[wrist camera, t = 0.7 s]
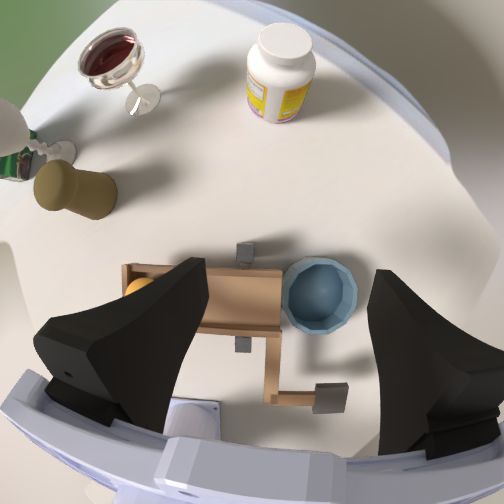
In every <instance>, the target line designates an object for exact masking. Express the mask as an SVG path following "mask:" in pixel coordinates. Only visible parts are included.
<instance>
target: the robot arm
mask: <svg viewBox="0 0 504 504" xmlns="http://www.w3.org/2000/svg"><path fill="white" fill-rule="evenodd" d="M208 300H209V289H208V282H207V274H206V266H205V258H194V257H191V258H189V259H187V260H185V261H184V262H182V263H181V264H179V265H177V266H176V267H174V268H173V269H171V270H170V271H168V272H167V273H165V274H163V275H162V276H160V277H159V278H157V279H155V280H154V281H152V282H150V283H149V284H147V285H145V286H143V287H142V288H140V289H138V290H136V291H134V292H132V293H130V294H128V295H126V296H124V297H122V298H119V299H117V300H115V301H112V302H109V303H107V304H104V305H101V306H99V307H96V308H92V309H89V310H86V311H82V312H78V313H74V314H69V315H63V316H58V317H51V318H50V319H49V320H48V321H47V322H46V323H45V325H44V326H43V327H42V328H41V329H40V330H39V331H38V332H37V334H36V335H35V336H34V338H33V342H34V347H35V349H36V352H37V353H38V355H39V357H40V358H41V360H42V361H43V363H44V364H45V366H46V367H47V369H48V370H49V371H50V373H51V374H52V376H53V378H52V380H51V381H50V382H49V381H48V380H47V379H46V378H44V377H43V376H41V375H39V374H37V373H36V372H34V371H32V370H30V369H27V370H26V371H25V373H24V374H23V375H22V376H21V378H20V379H19V381H18V382H17V383H16V385H15V386H14V388H13V389H12V390H11V392H10V393H9V395H8V396H7V398H6V399H5V400H4V402H3V403H2V405H1V406H0V412H1V413H2V414H3V415H4V416H5V417H6V418H7V419H8V420H9V421H10V422H11V423H12V424H13V425H14V426H15V427H16V428H18V429H19V430H20V431H21V432H22V433H23V434H24V435H25V436H26V437H28V438H29V439H30V440H31V441H32V442H33V443H35V444H36V445H38V446H39V447H40V448H42V449H43V450H45V451H46V452H48V453H49V454H51V455H52V456H54V457H55V458H57V459H58V460H60V461H61V462H63V463H64V464H66V465H68V466H69V467H71V468H72V469H74V470H76V471H77V472H79V473H81V474H83V475H84V476H86V477H88V478H90V479H92V480H93V481H95V482H97V483H99V484H101V485H103V486H105V487H107V488H109V489H111V490H113V491H115V492H116V494H115V497H114V499H113V502H112V504H470V503H472V502H474V501H477V500H479V499H482V498H484V497H486V496H488V495H491V494H493V493H495V492H497V491H499V490H500V489H502V488H504V421H503V422H501V423H500V424H498V422H497V417H499V415H500V410H499V407H498V406H499V405H500V404H501V403H502V402H503V400H504V351H502V350H500V349H497V348H495V347H492V346H490V345H488V344H486V343H484V342H482V341H480V340H478V339H476V338H474V337H473V336H471V335H469V334H467V333H466V332H464V331H463V330H461V329H459V328H458V327H456V326H455V325H453V324H452V323H451V322H449V321H448V320H446V319H445V318H444V317H442V316H441V315H440V314H439V313H437V312H436V311H435V310H434V309H432V308H431V307H430V306H429V305H428V304H427V303H425V302H424V301H423V300H422V299H421V298H420V297H419V296H418V295H417V294H416V293H415V292H414V291H412V290H411V289H410V288H409V287H408V286H407V285H406V284H405V283H404V282H403V281H402V280H401V279H400V278H399V277H398V276H397V275H396V274H394V273H393V272H392V271H391V270H382V269H377V270H376V274H375V278H374V282H373V287H372V291H371V294H370V298H369V302H368V306H367V314H368V325H369V331H370V336H371V340H372V345H373V349H374V354H375V358H376V363H377V368H378V374H379V383H380V408H381V419H380V440H379V451H378V456H370V457H353V458H342V457H340V456H337V455H335V454H332V453H328V452H318V451H309V450H290V449H277V448H267V447H258V446H250V445H243V444H236V443H230V442H224V441H221V435H220V407H219V403H218V402H215V401H201V400H189V399H179V398H171V397H172V394H173V390H174V387H175V383H176V380H177V377H178V374H179V371H180V367H181V364H182V362H183V359H184V357H185V354H186V352H187V350H188V348H189V346H190V344H191V342H192V340H193V338H194V336H195V333H196V331H197V329H198V327H199V325H200V323H201V321H202V319H203V316H204V313H205V310H206V307H207V304H208ZM214 407H216V408H217V409H215V408H214Z"/></svg>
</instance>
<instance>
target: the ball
mask: <svg viewBox="0 0 504 504" xmlns="http://www.w3.org/2000/svg"><path fill="white" fill-rule="evenodd" d="M152 281H154V280H153V279H150V278H139V279H136V280H134V281H133V282H132V283H131V284H130V285H129V286H128V288H127V290H126V293H125V296H126V295H128V294H130V293H132V292H134V291H136V290H138V289H140V288H142V287H143V286H145V285H147V284H149V283H150V282H152Z"/></svg>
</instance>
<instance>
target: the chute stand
mask: <svg viewBox="0 0 504 504" xmlns="http://www.w3.org/2000/svg"><path fill="white" fill-rule="evenodd" d="M253 259H254V244H253V243H237V256H236V261H253ZM235 352H243V353H251V337H247V336H235Z"/></svg>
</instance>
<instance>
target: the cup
mask: <svg viewBox="0 0 504 504" xmlns="http://www.w3.org/2000/svg"><path fill="white" fill-rule="evenodd" d="M357 292H358V287H357V285H356V282H355V280H354V278H353V276H352V274H351V272H350V270H349V269H347V268H346V267H344V266H343V265H341V264H340V263H338V262H337V261H335V260H333V259H329V258H325V257H304V258H303V259H301V260H299V261H297V262H296V263H294V264H292V265H290V266H289V268H288V269H287V271H286V272H285V274H284V276H283V277H282V286H281V305H282V307H283V309H284V310H285V312H286V314H287V316H288V318H289V320H290V321H291V323H292V325H293V326H295V327H296V328H298V329H300V330H302V331H304V332H305V333H307V334H309V335H316V334H330V333H331V332H333V331H335V330H336V329H338V328H340V327H341V326H343V325H345V324H346V323H347V321H348V320H349V318H350V316H351V315H352V313H353V312H354V310H355V308H356V304H357Z"/></svg>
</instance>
